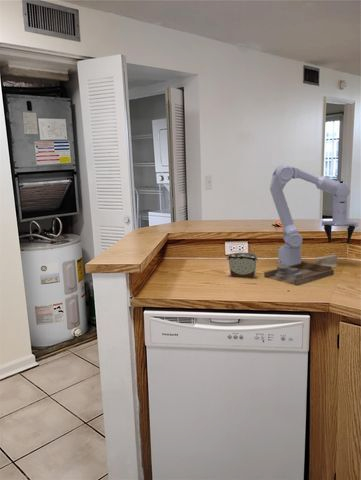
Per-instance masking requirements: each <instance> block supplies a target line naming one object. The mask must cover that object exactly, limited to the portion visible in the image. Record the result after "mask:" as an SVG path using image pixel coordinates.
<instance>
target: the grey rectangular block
mask: <svg viewBox="0 0 361 480" xmlns="http://www.w3.org/2000/svg"><path fill="white" fill-rule="evenodd" d="M315 264H321V265H326V266H331V267H332V269H333V268H337V267H338V255H337V254H327V255H324V256H320V257H317V258H315Z"/></svg>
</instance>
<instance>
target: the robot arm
mask: <svg viewBox="0 0 361 480" xmlns="http://www.w3.org/2000/svg"><path fill="white" fill-rule="evenodd" d="M271 177H272V178H271V181H270V186H269V191H270V194H271V197H272V200H273V203H274V205H275V209H276V212H277V215H278V217H279V220H280V223H281V226H282V233H283V236H282V238H283V239H282V240H283V241H284V242H285V243H284V244H283V245H281V246H280V247H279V249H278V254H277V255H278V257H277V259H278V260H277V262H278V264H279V265H281V266H291V265H295V264H298V263H301V261H302V244H303V236H302V235H301V234H300V233H299V231H298V229H297V227H296V225H295V223H294V220H293V218H292V214H291V211H290V208H289V206H288V203H287V200H286V196H285V194H284V191H283V190H284V188H285V186H286V185H287V184H288V182H290V181H291V180H292V179H294V180H295V179H300V180H303V181H306V182H309V183H311V184H314V185H315V186H316V189H318V190H320V191H322V192H325V193H327V194H330V195H332V220H322V221H321V227H323V230H324V231H325V234H326V237H327V239H328V240H327V241H328V242H327V243H329V244H330V243H331V242H332V227H347V228H346V229H347V238H346V239H347V240H346V244H350V243H351V238H352V236H353V233H354V231H355V229H356V228H358V227H359V222H358V221H349V220H348V196H349V194H350V193H351V189H350V187H349V186H348V185H347V184H346V183H341V182H340V181H339V180H338V179H337V180H335V179H332V178H330V176H328V175H322V176H319V177H318V176H316V175H315V174H312V173H309V172H308V171H306V170H303V169H301V168H298V167H293V166H289V165H280V166H277V167H276V168H275V169H274V171H273V173H272V176H271Z"/></svg>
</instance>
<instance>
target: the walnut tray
mask: <svg viewBox="0 0 361 480" xmlns="http://www.w3.org/2000/svg"><path fill="white" fill-rule="evenodd" d="M288 267H292V268H297V269H299V272H300V273H302V278H299V279H295V282H293V281H289V280H285V279H281V278H277V277H275V274H276V273H277V268H275V269H272V270H267V271H264V275H263V276H264V278H266V279H270V280H274V281H278V282H281V283H286V284H289V285H293V286H297V287H298V286H301V285H304V284H306V283H311V282H314V281H317V280H320V279H323V278H326V277H327V278H328V277H331V276H333V275H334V273H335V271H334V269H333V268H332V267H331V266H326V265H321V264H316V262H315V263H314V262H311V261H310V262H309V261H305V260H301V263H298V264H295V265H291V266H288Z"/></svg>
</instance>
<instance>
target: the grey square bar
mask: <svg viewBox="0 0 361 480" xmlns="http://www.w3.org/2000/svg"><path fill="white" fill-rule="evenodd" d="M276 269H277V273H276V274H275V277H277V278H281V279H285V280H289V281H293V282H295V279H299V278H302V273H300V272H299V269H297V268H292V267H288V266H286V265H279V266H277V267H276Z"/></svg>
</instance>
